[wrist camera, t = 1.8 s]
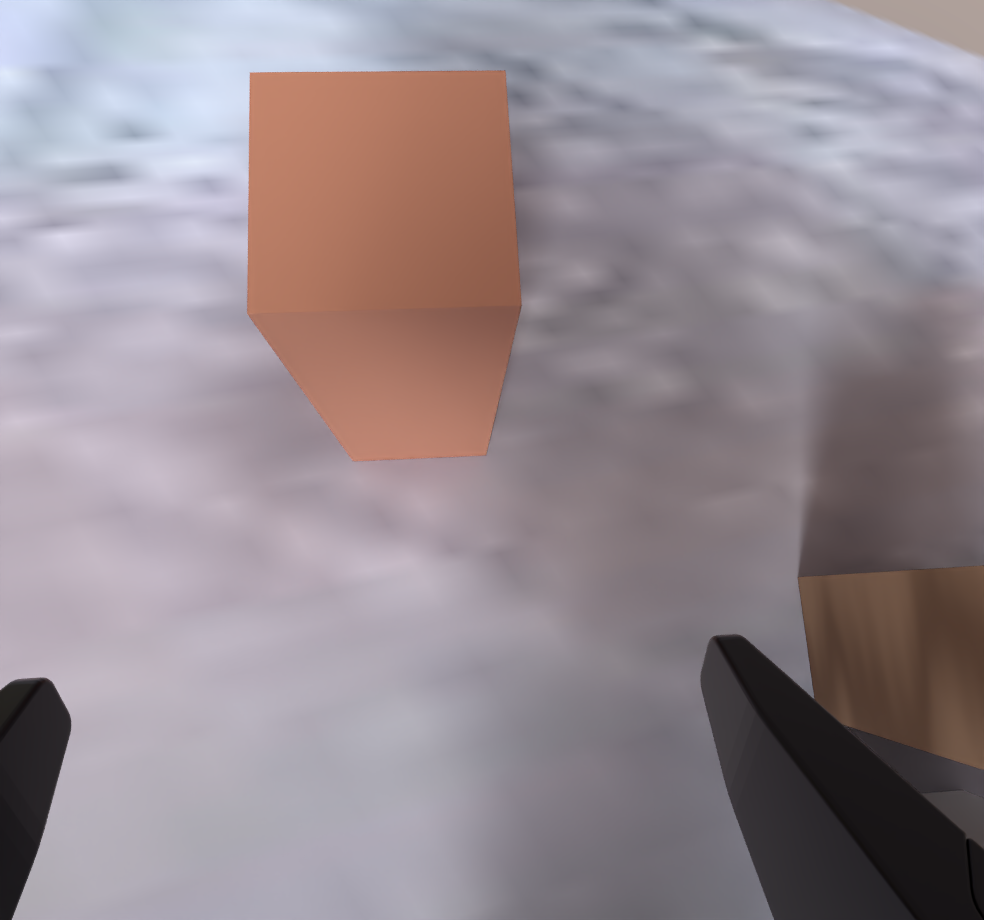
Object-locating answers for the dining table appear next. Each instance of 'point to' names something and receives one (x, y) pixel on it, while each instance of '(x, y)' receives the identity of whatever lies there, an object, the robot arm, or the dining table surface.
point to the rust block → (386, 251)
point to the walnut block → (901, 655)
